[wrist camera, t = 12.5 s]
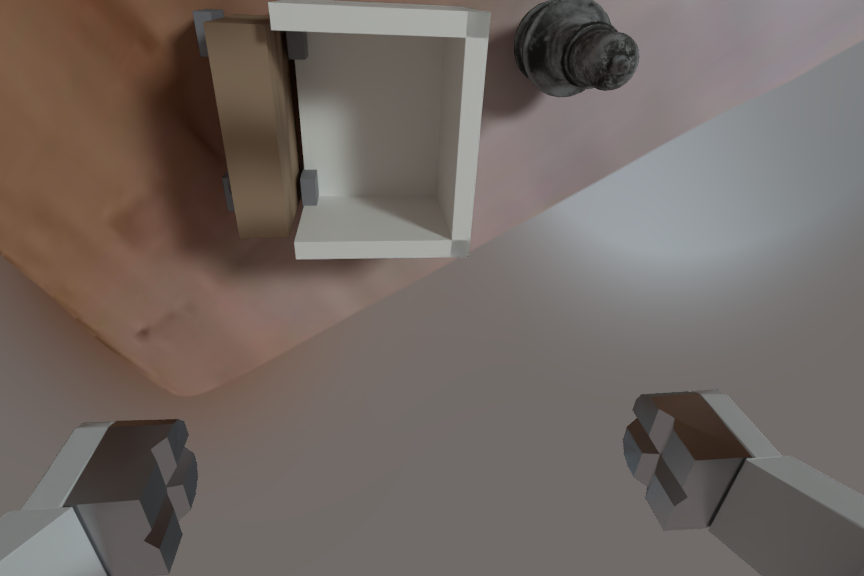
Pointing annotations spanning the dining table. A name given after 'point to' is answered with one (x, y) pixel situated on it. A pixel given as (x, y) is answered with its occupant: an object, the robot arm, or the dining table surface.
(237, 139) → the door
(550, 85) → the chess piece
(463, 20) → the cabinet
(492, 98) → the dining table surface
